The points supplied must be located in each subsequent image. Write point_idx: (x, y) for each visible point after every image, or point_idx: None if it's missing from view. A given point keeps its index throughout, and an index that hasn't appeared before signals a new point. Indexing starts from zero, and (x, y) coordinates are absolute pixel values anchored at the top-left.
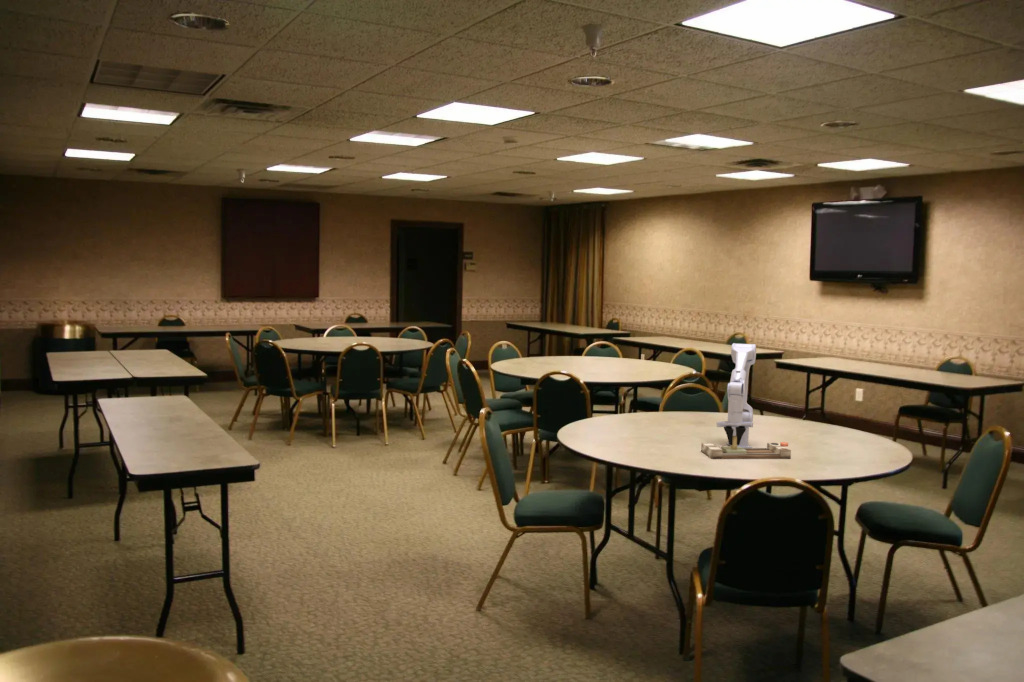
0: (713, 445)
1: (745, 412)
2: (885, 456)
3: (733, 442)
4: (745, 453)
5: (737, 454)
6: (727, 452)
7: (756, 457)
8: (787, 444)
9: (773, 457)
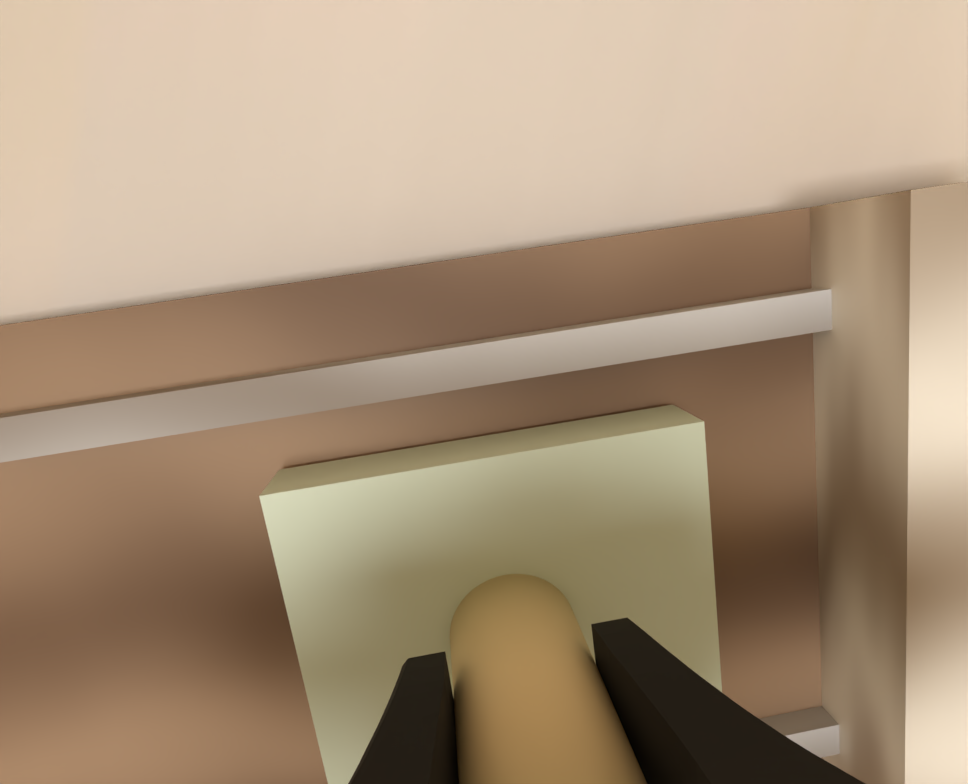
0: (943, 659)
1: None
2: None
3: (574, 673)
4: (308, 410)
5: (489, 341)
6: (677, 413)
7: (104, 313)
8: None
9: None
